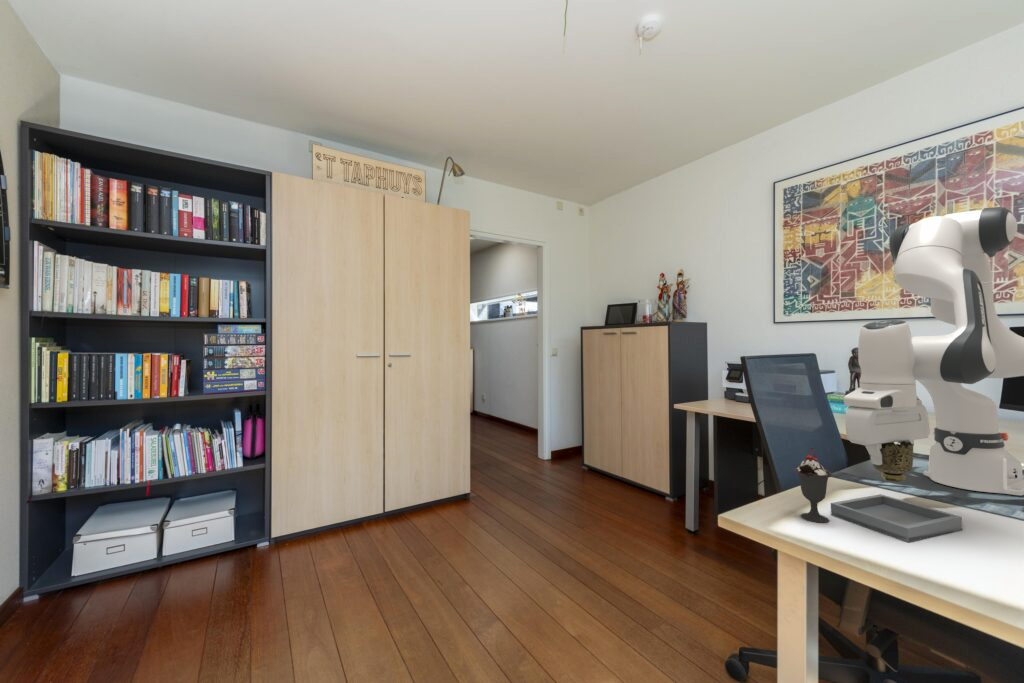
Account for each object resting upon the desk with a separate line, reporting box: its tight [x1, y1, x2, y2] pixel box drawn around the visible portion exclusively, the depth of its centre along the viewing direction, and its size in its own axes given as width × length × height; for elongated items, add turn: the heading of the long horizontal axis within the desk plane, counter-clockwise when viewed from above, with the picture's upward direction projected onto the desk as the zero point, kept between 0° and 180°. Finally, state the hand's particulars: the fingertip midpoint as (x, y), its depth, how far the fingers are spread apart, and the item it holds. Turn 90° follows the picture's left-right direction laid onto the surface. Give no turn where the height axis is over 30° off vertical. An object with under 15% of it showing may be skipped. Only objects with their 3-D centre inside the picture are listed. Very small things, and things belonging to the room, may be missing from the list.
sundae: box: [793, 446, 833, 524], centre depth 89 cm, size 7×7×15 cm
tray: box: [830, 493, 963, 544], centre depth 86 cm, size 16×14×3 cm
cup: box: [868, 441, 915, 483], centre depth 86 cm, size 8×7×8 cm
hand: (890, 462), depth 86 cm, fingers closed on cup, 6 cm apart
